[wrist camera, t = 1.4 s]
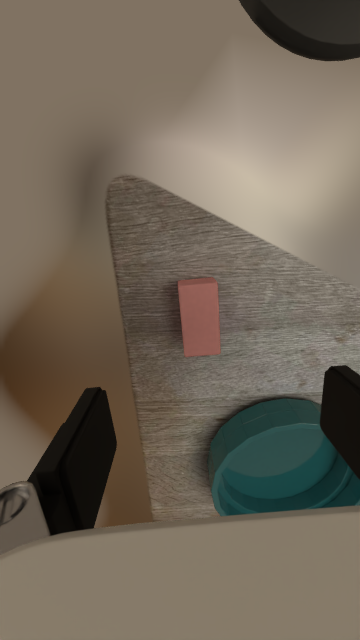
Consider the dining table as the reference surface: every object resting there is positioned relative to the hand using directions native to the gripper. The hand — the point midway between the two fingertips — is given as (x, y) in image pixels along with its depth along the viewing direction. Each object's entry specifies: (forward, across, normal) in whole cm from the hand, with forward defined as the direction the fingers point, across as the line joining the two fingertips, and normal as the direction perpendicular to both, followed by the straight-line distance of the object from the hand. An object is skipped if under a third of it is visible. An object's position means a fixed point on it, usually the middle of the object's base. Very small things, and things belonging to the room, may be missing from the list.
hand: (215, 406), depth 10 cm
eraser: (+12, 0, -1) cm, 12 cm away
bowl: (+12, -8, +16) cm, 22 cm away
